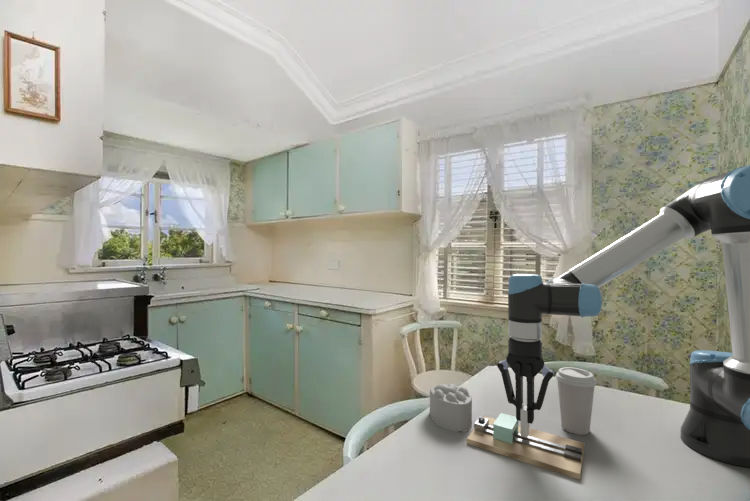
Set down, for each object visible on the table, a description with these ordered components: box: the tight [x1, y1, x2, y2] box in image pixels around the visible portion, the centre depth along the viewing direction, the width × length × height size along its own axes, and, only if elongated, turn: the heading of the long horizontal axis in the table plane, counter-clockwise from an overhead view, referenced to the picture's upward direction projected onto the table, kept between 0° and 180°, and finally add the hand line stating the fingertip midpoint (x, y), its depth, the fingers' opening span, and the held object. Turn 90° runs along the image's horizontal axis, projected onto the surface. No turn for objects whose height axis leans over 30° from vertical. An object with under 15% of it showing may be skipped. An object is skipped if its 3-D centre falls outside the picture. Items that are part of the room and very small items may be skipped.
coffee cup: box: [554, 366, 598, 436], centre depth 93 cm, size 10×10×15 cm
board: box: [466, 415, 585, 480], centre depth 84 cm, size 24×14×1 cm, turn 56°
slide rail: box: [473, 416, 582, 462], centre depth 84 cm, size 24×4×2 cm, turn 56°
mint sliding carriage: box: [493, 412, 520, 444], centre depth 87 cm, size 4×7×4 cm, turn 146°
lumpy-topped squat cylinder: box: [429, 383, 473, 432], centre depth 97 cm, size 10×13×9 cm
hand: (524, 434), depth 84 cm, fingers closed
